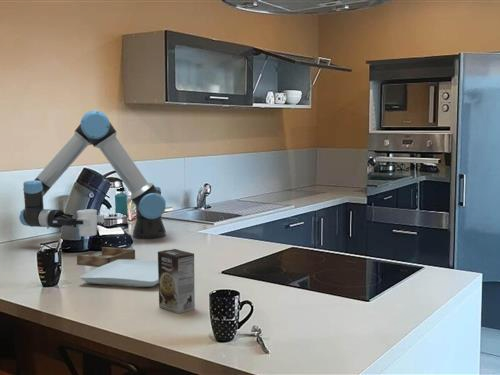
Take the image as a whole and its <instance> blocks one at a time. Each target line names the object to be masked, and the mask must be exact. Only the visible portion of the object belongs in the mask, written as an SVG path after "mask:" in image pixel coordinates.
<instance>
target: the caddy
mask: <svg viewBox="0 0 500 375" xmlns="http://www.w3.org/2000/svg"><path fill="white" fill-rule="evenodd" d="M119 259H122V260H136V250H135V249H132V248H131V249H130V248H120V247H119V248H118V247H107V246H103V247H101V254H99V255H97V256H96V255H86V254H76V265H82V266H92V267H101V266H103V265H106V264H108V263H111V262H113V261H116V260H119Z"/></svg>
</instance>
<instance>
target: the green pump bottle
mask: <svg viewBox="0 0 500 375" xmlns="http://www.w3.org/2000/svg"><path fill="white" fill-rule="evenodd" d="M121 187H122V188H120V189H117V188H116V192H117V193H116V194H115V195H114V204H115V206H114V207H115V208H114V209H115V210H114V211H115V214H116V213H121V214H123V215H126V216H127V217H128V218H129V213H128V209H129V208H128V195H127V194H126V193H125V191H126V190H125V187H124V186H121ZM118 192H122V193H118ZM123 192H124V193H123Z"/></svg>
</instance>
